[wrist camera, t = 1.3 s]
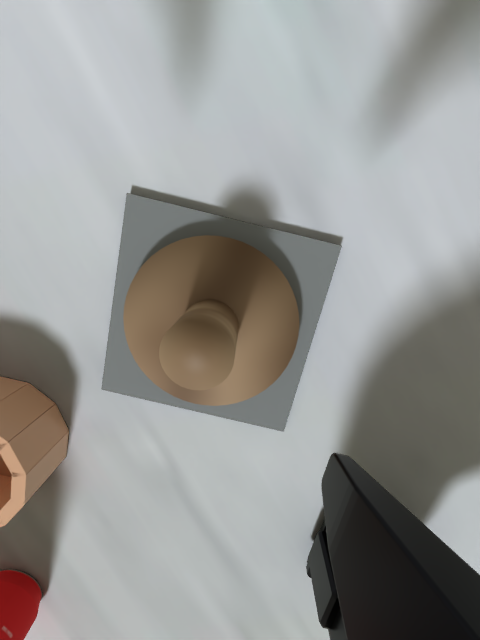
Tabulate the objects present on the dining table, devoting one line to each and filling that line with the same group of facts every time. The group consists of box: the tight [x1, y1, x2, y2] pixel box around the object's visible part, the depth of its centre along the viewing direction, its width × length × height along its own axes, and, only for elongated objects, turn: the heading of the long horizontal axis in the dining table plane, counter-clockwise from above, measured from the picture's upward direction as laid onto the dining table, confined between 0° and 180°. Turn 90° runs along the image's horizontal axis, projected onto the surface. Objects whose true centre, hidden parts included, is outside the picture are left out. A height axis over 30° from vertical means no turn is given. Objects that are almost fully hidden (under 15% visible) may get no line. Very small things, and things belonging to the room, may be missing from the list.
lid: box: [123, 235, 299, 406], centre depth 15 cm, size 10×10×5 cm
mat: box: [102, 193, 342, 432], centre depth 18 cm, size 12×12×1 cm
